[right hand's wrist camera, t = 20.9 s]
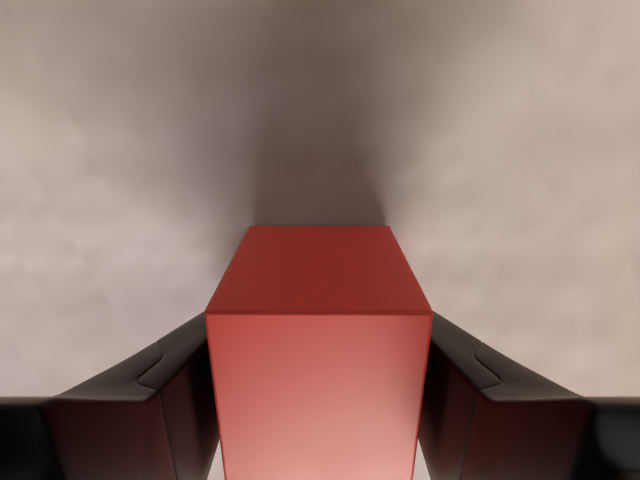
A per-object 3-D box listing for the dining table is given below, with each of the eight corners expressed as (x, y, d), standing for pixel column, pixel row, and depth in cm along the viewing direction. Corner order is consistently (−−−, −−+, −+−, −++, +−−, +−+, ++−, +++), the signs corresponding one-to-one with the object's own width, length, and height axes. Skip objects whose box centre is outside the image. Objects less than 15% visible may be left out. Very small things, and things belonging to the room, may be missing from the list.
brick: (381, 352, 13) (412, 489, 9) (257, 352, 13) (224, 489, 9) (389, 224, 12) (434, 311, 7) (248, 224, 12) (202, 311, 7)
